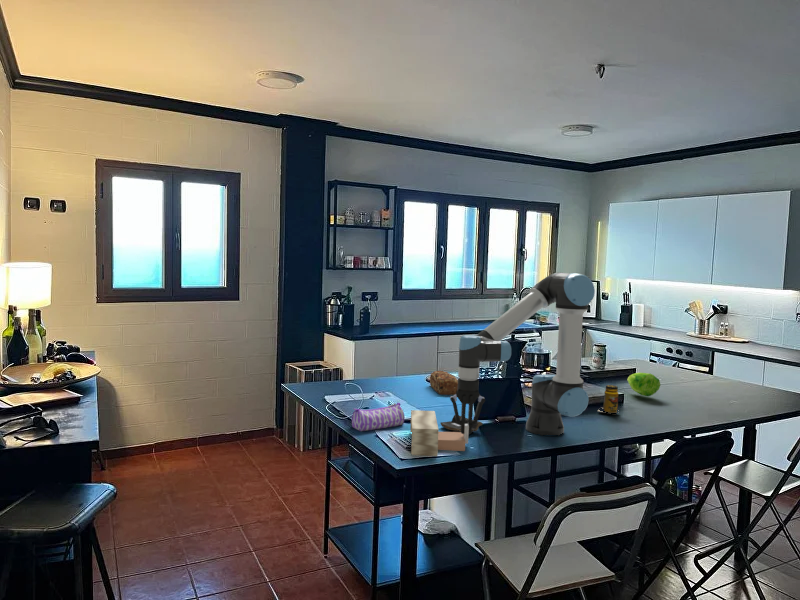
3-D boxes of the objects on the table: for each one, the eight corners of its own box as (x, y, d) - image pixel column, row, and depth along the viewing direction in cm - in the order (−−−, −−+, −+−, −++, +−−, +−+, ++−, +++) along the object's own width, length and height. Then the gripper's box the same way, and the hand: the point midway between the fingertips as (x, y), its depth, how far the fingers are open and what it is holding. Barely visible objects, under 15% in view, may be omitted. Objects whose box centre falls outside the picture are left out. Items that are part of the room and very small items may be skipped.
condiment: (615, 414, 270) (617, 388, 269) (596, 411, 274) (598, 385, 273) (619, 411, 276) (621, 385, 275) (601, 408, 280) (602, 383, 279)
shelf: (433, 435, 229) (434, 411, 228) (437, 456, 205) (438, 429, 204) (410, 434, 229) (411, 410, 228) (411, 455, 205) (412, 428, 204)
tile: (462, 442, 222) (462, 432, 222) (464, 451, 212) (465, 440, 212) (424, 441, 222) (424, 431, 222) (425, 450, 212) (426, 439, 212)
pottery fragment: (437, 426, 238) (438, 415, 238) (457, 424, 246) (458, 414, 246) (464, 434, 227) (465, 423, 227) (484, 432, 234) (486, 421, 234)
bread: (429, 388, 310) (429, 369, 309) (449, 388, 312) (449, 369, 311) (438, 397, 291) (439, 377, 291) (459, 397, 293) (460, 377, 293)
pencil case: (393, 422, 246) (393, 399, 245) (407, 427, 239) (408, 404, 238) (348, 430, 232) (349, 406, 231) (362, 436, 225) (363, 412, 224)
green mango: (640, 389, 324) (641, 367, 323) (664, 398, 305) (666, 375, 304) (617, 389, 321) (619, 367, 320) (640, 398, 302) (642, 375, 301)
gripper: (484, 376, 219) (482, 439, 221) (449, 375, 219) (446, 438, 221) (487, 381, 211) (485, 446, 213) (451, 379, 211) (448, 445, 213)
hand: (465, 442), depth 217 cm, fingers closed
